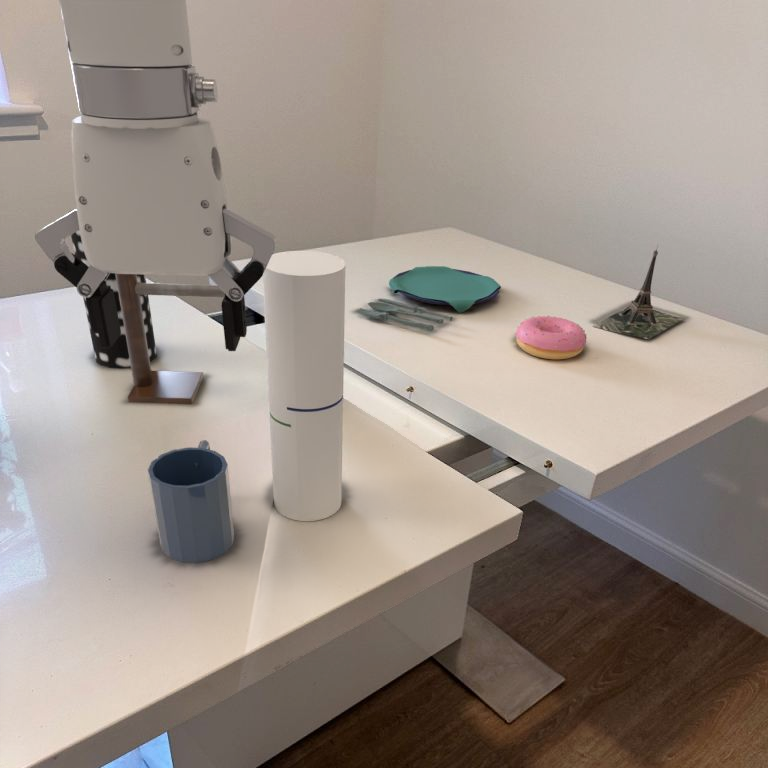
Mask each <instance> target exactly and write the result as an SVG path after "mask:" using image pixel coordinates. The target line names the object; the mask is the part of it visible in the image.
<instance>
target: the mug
mask: <svg viewBox="0 0 768 768" xmlns="http://www.w3.org/2000/svg"><path fill="white" fill-rule="evenodd" d="M147 474H148V479H149V486H150V492H151V499H152V503H153V510H154V514H155V515H154V516H155V522H156V525H157V526H156V527H157V533H158V538H159V544H160V547H161V551H162V553H163V554H164V555H165V556H167V557H168V558H169V559H171V560H174V561H177V562H180V563H185V564H186V563H189V564H191V563H192V564H199V563H204V562H209V561H213V560H214V559H217V558H219V557H221V556H223V555H225V554H226V553H227V552H228V551H229V549H230V548H232V546H233V544H234V540H235V529H234V528H235V527H234V518H233V507H232V496H231V487H230V473H229V465H228V462H227V460H226V458H225V456H224V455H222V454H220V453H219V452H218V451H216V450H212V449H211V448H210V442H209V441H208V440H206V439H202V440H201V441H199V443H198V446H197V447H190V446H189V447H183V448H176V449H171V450H169V451H167V452H164V453H162V454H159V455H158V456H157V457H156V458H154V459H153V460H152V461H151V462H150V464H149V467H148V468H147Z"/></svg>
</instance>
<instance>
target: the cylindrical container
mask: <svg viewBox="0 0 768 768" xmlns="http://www.w3.org/2000/svg"><path fill="white" fill-rule="evenodd" d="M262 291H263V292H262V293H263V311H264V313H263V314H264V331H265V352H266V373H267V393H268V394H267V395H268V411H269V412H268V415H269V416H268V417H269V433H270V434H269V435H270V451H271V454H270V455H271V472H272V473H271V474H272V493H273V494H272V495H273V506H274V509H275V510H276V511H277V512H278V513H279V514H280V515H281V516H283V517H285V518H287V519H290V520H293V521H297V522H315V521H321V520H324V519H327V518H329V517H332V516H333V515H334V514H336V513H337V512H338V511H339V510H340V508H341V506H342V492H343V489H342V488H343V434H344V432H343V430H344V429H343V428H344V378H345V377H344V373H345V372H344V371H345V370H344V369H345V317H346V316H345V315H346V262H345V260H344V259H343V258H341V257H339V256H337V255H335V254H331V253H327V252H321V251H316V250H315V251H314V250H313V251H312V250H289V251H281V252H275V253H273V254H272V256H271V258H270V260H269V262H268V265H267V267H266V269H265V271H264V273H263V276H262Z"/></svg>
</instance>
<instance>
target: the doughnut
mask: <svg viewBox="0 0 768 768" xmlns="http://www.w3.org/2000/svg"><path fill="white" fill-rule="evenodd" d="M587 335H588V334H586V331H585V329H583V327H582V326H580V324H578V323H576V322H574V321H572V320H569V319H567V318H563V317H557V316H550V315H546V316H545V315H542V316H540V315H539V316H532V317H529V318H526V319H525V320H523V321H522V322H520V323H519V325H517V329H516V331H515V336H516V338H515V339H516V343H517V345H518V346H519V348H520V349H521V350H523V351H524V352H525V353H526V354H529V355H531V356H533V357H538V358H541V359H546V360H566V359H570V358H573V357H576V356H577V355H579V354H580V353H582V351H583V350H584V348H585V345H586V344H587V339H588V337H587Z"/></svg>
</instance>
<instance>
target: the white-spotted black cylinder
mask: <svg viewBox="0 0 768 768" xmlns="http://www.w3.org/2000/svg"><path fill="white" fill-rule="evenodd" d="M74 210H75V209H72V210H70V211H68V212H67V213H66V215H67V214H68V213H70V212H72V211H74ZM70 238H71V242H72V247H73V254H74V255H75V256H77V257H78V258H79V259H80V260H81V261H82V262H84V263H85V264H86V265H87V266H88V267H89V266H90V264H89V262H88V261H87V258H86V256H85V253H84V249H83V245H82V240H81V235H80V230H79V231H77V232H75V233H73V234H72V235H70ZM105 281H106V284H107V285H110V286H111V289H113V291H114V297H115V302H116V308H117V313H118V318H119V324H120V329H121V335H120V336H119V338H118V339H117V340H116V342H115V343H114V344H113V346H112V347H110V348H101V345H100V340H99V335H98V334H95V333H94V332H93V330H92V326H91V321H90V317H89V312H88V307H87V302H86V298H85V297H83V296H82V298H83V303H84V308H85V313H86V318H87V323H88V329H89V334H90V338H91V344H92V349H93V354H94V359H95V362H96V363H97V364H98V365H100V366H102V367H104V368H110V369H121V370H123V369H124V370H125V369H131V364H130V358H129V352H128V346H127V341H126V335H125V329H124V323H123V317H122V311H121V305H120V299H119V293H118V288H117V282H116V276H115V273H110V274H109V276H108V277H107V279H106V280H105ZM137 281H138V282H140V283H147V277H146V275H143V274H137ZM140 301H141V307H142V314H143V320H144V327H145V333H146V340H147V346H148V353H149V359H150V363H152V362H153V361H154V360H156V358H157V355H158V352H157V346H156V340H155V333H154V327H153V325H154V324H153V320H152V313H151V306H150V305H151V304H150V299H149V295H140Z"/></svg>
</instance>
